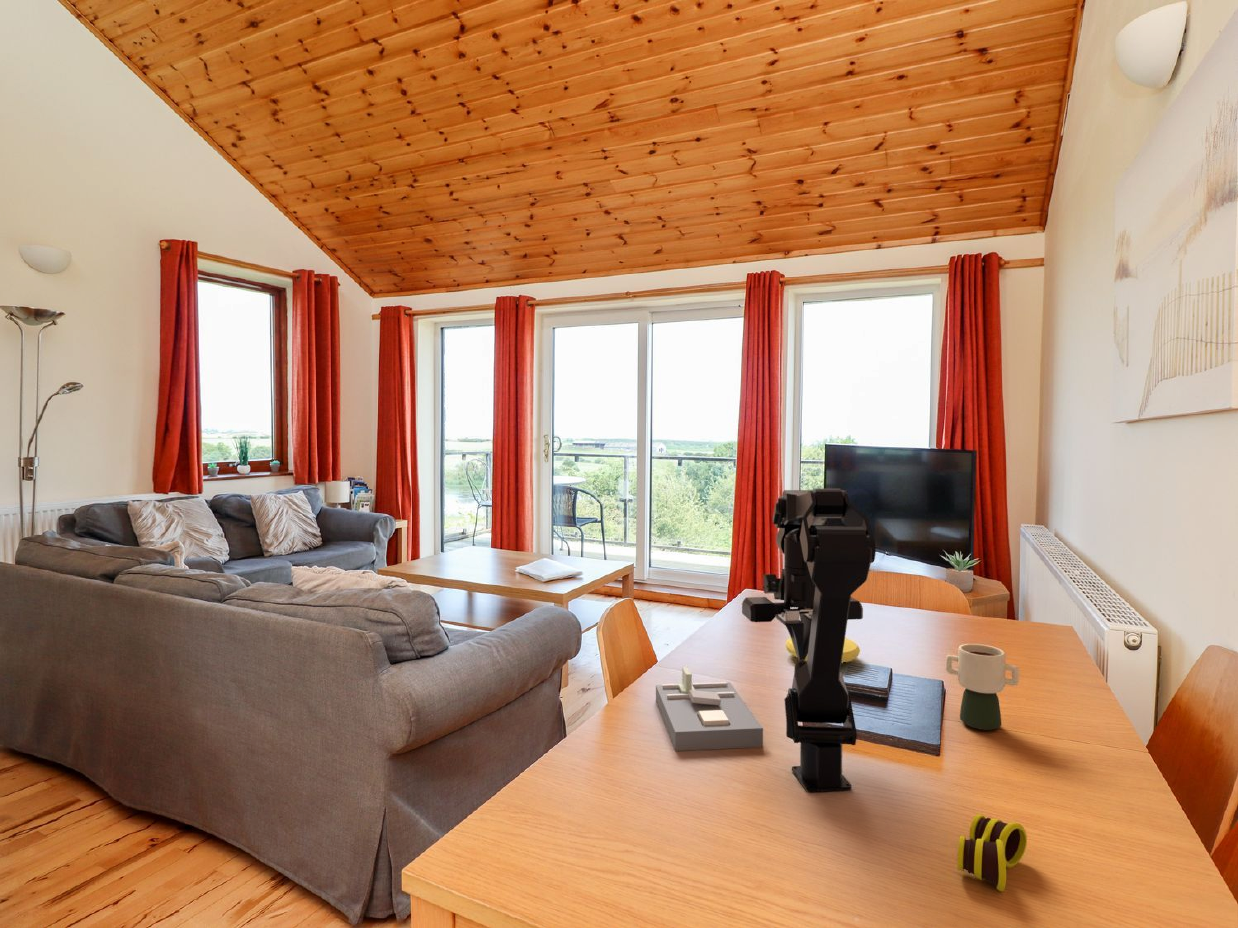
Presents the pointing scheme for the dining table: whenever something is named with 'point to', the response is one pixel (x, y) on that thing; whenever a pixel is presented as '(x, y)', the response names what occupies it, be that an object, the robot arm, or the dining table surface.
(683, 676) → the slide paddle
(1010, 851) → the opera glasses
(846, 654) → the yellow flattened dome
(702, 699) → the pale grey slab
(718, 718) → the push button
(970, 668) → the character mug
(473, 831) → the dining table surface
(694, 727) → the console
